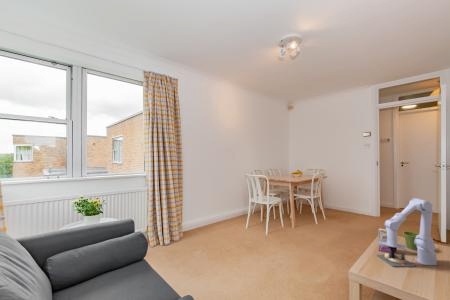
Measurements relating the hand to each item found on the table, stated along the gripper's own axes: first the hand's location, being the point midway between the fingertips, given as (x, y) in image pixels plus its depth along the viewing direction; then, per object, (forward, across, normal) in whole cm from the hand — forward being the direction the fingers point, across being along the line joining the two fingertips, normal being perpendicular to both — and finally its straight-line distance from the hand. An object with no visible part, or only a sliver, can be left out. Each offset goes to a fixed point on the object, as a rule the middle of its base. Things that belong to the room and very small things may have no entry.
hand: (392, 257), depth 147 cm
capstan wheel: (+3, -2, -4) cm, 5 cm away
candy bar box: (+4, 0, -19) cm, 19 cm away
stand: (+4, -2, -4) cm, 6 cm away
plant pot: (+5, -18, -35) cm, 39 cm away
